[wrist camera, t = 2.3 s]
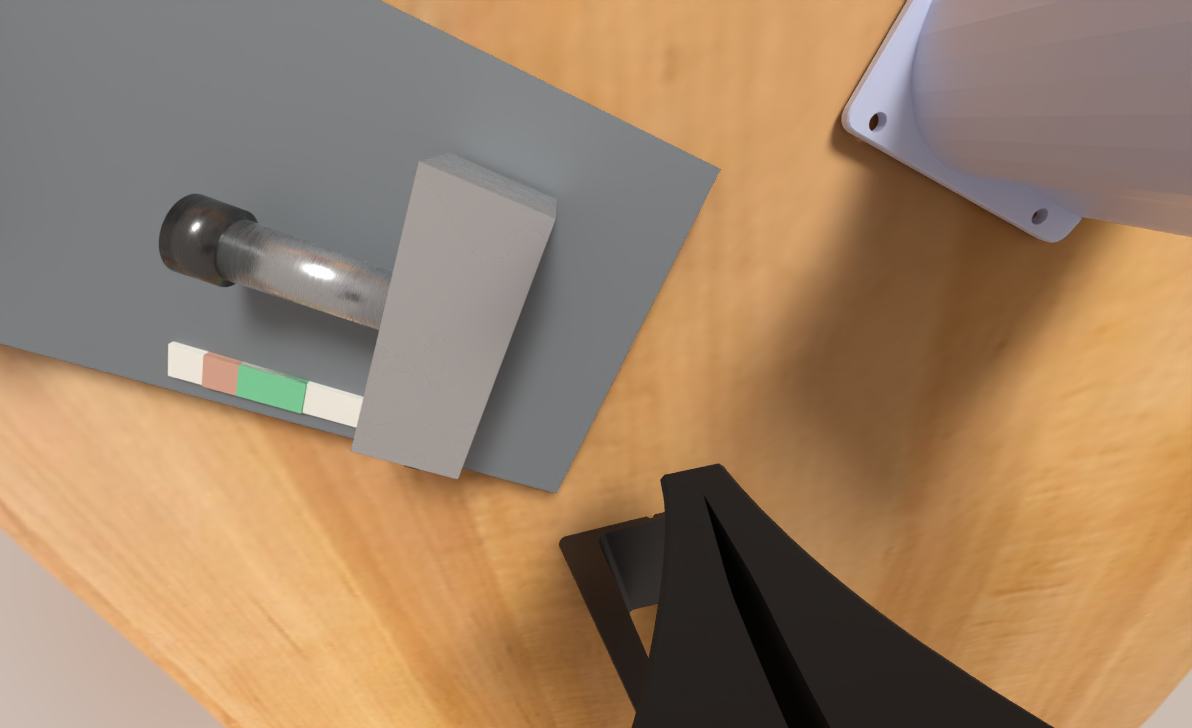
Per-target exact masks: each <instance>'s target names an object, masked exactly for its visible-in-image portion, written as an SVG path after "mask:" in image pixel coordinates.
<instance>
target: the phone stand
mask: <svg viewBox="0 0 1192 728" xmlns="http://www.w3.org/2000/svg"><path fill="white" fill-rule="evenodd" d="M664 539H665V512H663V513H659V514H655V516H654V518H651V519H650V518H648V517H642V518H638V519H634V520H630V521H626V522H622V523H618V524H614V525H610V526H606V527H602V528H598V529H594V530H590V531H586V532H582V533H578V534H574V535H570V536H566V537H564V538H562V539H561V541H560V543H559V546H560V548H561V551H562V553H563V555H564V557H565V559H566V562H567V564H568V566H569V568H570V570H571V572H572V575H573V577H574V579H575V581H576V583H577V586H578V588H579V590H580V592H581V594H582V597H583V599H584V601H585V603H586V605H587V608H588V610H589V612H590V614H591V616H592V618H593V621H594V623H595V625H596V627H597V629H598V631H599V634H600V636H601V638H602V640H603V642H604V644H605V647H606V649H607V651H608V653H609V655H610V657H611V660H612V662H613V664H614V666H615V668H616V670H617V673H618V675H619V677H620V679H621V681H622V683H623V686H624V688H625V690H626V692H627V694H628V696H629V699H630V701H631V703H632V705H633V707H634V709H635V712H636V710H637V706H638V702H639V698H640V694H641V690H642V685H643V681H644V677H645V672H646V668H647V663H648V656H647V654H646V652H645V649H644V647H643V645H642V642H641V640H640V638H639V635H638V633H637V631H636V628H635V626H634V624H633V621H632V619H631V617H630V614H629V613H630V611H631V610H633V609H637V608H641V607H645V606H650V605H654V604H658V603H659V595H660V586H661V578H662V569H663V558H664Z"/></svg>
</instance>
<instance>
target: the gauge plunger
mask: <svg viewBox="0 0 1192 728" xmlns="http://www.w3.org/2000/svg"><path fill="white" fill-rule="evenodd" d="M556 205H557V199H556V198H554V197H551V196H549V195H547V194H544V193H542V192H540V191H537V190H535V189H533V188H531V187H528V186H526V185H524V184H521V183H519V182H517V181H514V180H512V179H510V178H507V177H505V176H503V175H501V174H498V173H496V172H494V171H491V170H489V169H487V168H484V167H482V166H480V165H478V164H475V163H473V162H471V161H468V160H466V159H464V158H461V157H459V156H457V155H454V154H452V153H447V154H444V155H440V156H436V157H432V158H429V159H425V160H421V161H419V163H418V167H417V171H416V175H415V180H414V184H413V188H412V193H411V197H410V201H409V205H408V210H407V214H406V218H405V222H404V227H403V231H402V235H401V239H400V244H399V248H398V252H397V257H396V261H395V265H394V269H393V272H392V271H389V270H386V269H383V268H381V267H378V266H375V265H372V264H370V263H367V262H364V261H361V260H358V259H356V258H353V257H350V256H347V255H345V254H342V253H339V252H336V251H333V250H331V249H328V248H325V247H322V246H320V245H317V244H314V243H311V242H308V241H306V240H303V239H300V238H297V237H295V236H292V235H289V234H286V233H283V232H281V231H278V230H275V229H272V228H270V227H267V226H264V225H261V224H259V223H258V222H257V220H256V218H255V216H254V215H253V214H252V213H251V212H249V211H246V210H243V209H241V208H238V207H235V206H232V205H230V204H227V203H224V202H222V201H219V200H216V199H213V198H211V197H208V196H205V195H202V194H190V195H187V196H185V197H183V198H181V199H180V200H179V201H177V202H176V203H175V204H174V205H173V206H172V208H171V209H170V210H169V212H168V213H167V215H166V217H165V219H164V221H163V224H162V226H161V230H160V235H159V252H160V256H161V259H162V261H163V263H164V264H165V266H166V267H167V268H168V269H170V270H171V271H174V272H176V273H180V274H183V275H186V276H189V277H192V278H195V279H198V280H201V281H204V282H207V283H210V284H213V285H217V286H220V287H230V286H233V285H234V284H236V283H237V284H240V285H243V286H246V287H249V288H252V289H255V290H258V291H261V292H264V293H267V294H270V295H273V296H276V297H279V298H282V299H285V300H288V301H291V302H294V303H297V304H301V305H304V306H307V307H310V308H313V309H316V310H319V311H322V312H325V313H328V314H331V315H334V316H337V317H340V318H343V319H346V320H349V321H352V322H355V323H358V324H361V325H365V326H368V327H371V328H374V329H377V330H379V333H378V338H377V342H376V346H375V350H374V355H373V359H372V363H371V367H370V372H369V376H368V380H367V384H366V389H365V393H364V397H363V402H362V406H361V410H360V414H359V419H358V423H357V427H356V431H355V436H354V440H353V444H352V448H351V451H352V452H355V453H359V454H363V455H367V456H371V457H374V458H378V459H382V460H386V461H390V462H393V463H397V464H401V465H404V466H406V467H409V468H413V469H417V470H419V469H420V470H424V471H428V472H431V473H435V474H439V475H443V476H447V477H450V478H454V479H458V478H459V475H460V472H461V470H462V467H463V464H464V462H465V459H466V456H467V454H468V451H469V448H470V446H471V443H472V440H473V438H474V435H475V432H476V430H477V427H478V424H479V422H480V419H481V417H482V414H483V411H484V409H485V406H486V403H487V401H488V398H489V395H490V393H491V390H492V387H493V385H494V382H495V379H496V377H497V374H498V371H499V369H500V366H501V363H502V361H503V358H504V355H505V353H506V350H507V347H508V345H509V342H510V339H511V337H512V334H513V331H514V329H515V326H516V323H517V321H518V318H519V315H520V313H521V310H522V307H523V305H524V302H525V299H526V297H527V294H528V291H529V289H530V286H531V283H532V281H533V278H534V275H535V273H536V270H537V267H538V265H539V262H540V259H541V257H542V254H543V251H544V249H545V246H546V243H547V241H548V238H549V235H550V233H551V230H552V227H553V225H554V222H555V219H556Z"/></svg>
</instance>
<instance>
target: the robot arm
mask: <svg viewBox="0 0 1192 728" xmlns="http://www.w3.org/2000/svg"><path fill="white" fill-rule="evenodd" d="M874 114H877V115H878V120H879V121H878V124H877V126H876V128H875V129H874V130H872V131H871V130H870V129H869V122H870V119H871V117H872V116H873V115H874ZM841 122H842V125H843V128H844V129H845V130H846V131H847V132H848V133H850V134H852V135H854V136H855V137H857V138H859V139H861V140H863V141H864V142H866V143H868V144H870V145H871V146H873V147H875V148H877V149H879V150H880V151H882V152H884V153H886V154H887V155H889V156H891V157H893V158H895V159H896V160H898V161H900V162H902V163H903V164H905V165H907V166H909V167H911V168H912V169H914V170H916V171H918V172H919V173H921V174H923V175H925V176H927V177H928V178H930V179H932V180H934V181H935V182H937V183H939V184H941V185H943V186H944V187H946V188H948V189H950V190H951V191H953V192H955V193H957V194H959V195H960V196H962V197H964V198H966V199H967V200H969V201H971V202H973V203H974V204H976V205H978V206H980V207H982V208H983V209H985V210H987V211H989V212H990V213H992V214H994V215H996V216H998V217H999V218H1001V219H1003V220H1005V221H1006V222H1008V223H1010V224H1012V225H1014V226H1015V227H1017V228H1019V229H1021V230H1022V231H1024V232H1026V233H1028V234H1030V235H1031V236H1033V237H1035V238H1037V239H1038V240H1042V241H1046V242H1050V243H1054V242H1058V241H1060V240H1062V239H1063V238H1065V237H1066V236H1067V235H1068V234H1069V233H1070V232H1071V231H1072V230H1073V228H1074V227H1075V226H1076V225H1077V224H1078V223H1079V222H1080V220H1081V219H1082V218H1083V217H1084V218H1090V219H1095V220H1101V221H1106V222H1112V223H1117V224H1123V225H1128V226H1134V227H1139V228H1145V229H1150V230H1156V231H1161V232H1167V233H1172V234H1178V235H1183V236H1189V237H1192V0H907V2H906V3H905V5H904V7H903V9H902V10H901V12H900V14H899V15H898V17H897V19H896V21H895V22H894V24H893V26H892V27H891V29H890V31H889V33H888V34H887V36H886V38H885V39H884V41H883V43H882V44H881V46H880V48H879V50H878V51H877V53H876V55H875V56H874V58H873V60H872V62H871V63H870V65H869V67H868V68H867V70H866V72H865V74H864V75H863V77H862V79H861V80H860V82H859V84H858V86H857V87H856V89H855V91H854V92H853V94H852V96H851V97H850V99H849V101H848V103H847V104H846V106H845V108H844V110H843V113H842V120H841ZM1036 211H1037V214H1036V216H1035V218H1033V219H1032V217H1033V215H1034V213H1035V212H1036ZM660 481H661V486H662V492H663V497H664V506H665V539H664V558H663V569H662V578H661V586H660V595H659V603H658V609H657V616H656V622H655V628H654V633H653V638H652V644H651V649H650V654H649V659H648V663H647V668H646V672H645V677H644V681H643V685H642V690H641V694H640V698H639V702H638V706H637V710H636V714H635V718H634V722H633V725H632V728H1054V727H1052V726H1051V725H1049V724H1047V723H1046V722H1044V721H1042V720H1041V719H1039V718H1037V717H1036V716H1034V715H1033V714H1031V713H1029V712H1028V711H1026V710H1025V709H1023V708H1021V707H1020V706H1018V705H1016V704H1015V703H1013V702H1012V701H1010V700H1008V699H1007V698H1005V697H1004V696H1002V695H1000V694H999V693H997V692H995V691H994V690H992V689H991V688H989V687H988V686H986V685H985V684H983V683H982V682H980V681H979V680H977V679H976V678H974V677H973V676H971V675H970V674H968V673H967V672H965V671H964V670H962V669H961V668H959V667H958V666H956V665H955V664H953V663H952V662H950V661H949V660H947V659H946V658H944V657H943V656H941V655H940V654H938V653H937V652H935V651H934V650H932V649H931V648H929V647H928V646H926V645H925V644H923V643H922V642H920V641H919V640H917V639H916V638H914V637H913V636H912V635H910V634H909V633H908V632H906V631H905V630H903V629H902V628H901V627H899V626H898V625H897V624H895V623H894V622H892V621H891V620H890V619H888V618H887V617H886V616H884V615H883V614H881V613H880V612H879V611H878V610H876V609H875V608H874V607H872V606H871V605H870V604H868V603H867V602H866V601H865V600H863V599H862V598H861V597H859V596H858V595H857V594H856V593H854V592H853V591H852V590H851V589H849V588H848V587H847V586H846V585H844V584H843V583H842V582H841V581H839V580H838V579H837V578H836V577H835V576H833V575H832V574H831V573H830V572H829V571H827V570H826V569H825V568H824V567H823V566H822V565H821V564H819V563H818V562H817V561H816V560H815V559H814V558H813V557H811V556H810V555H809V554H808V553H807V552H806V551H805V550H803V549H802V548H801V547H800V546H799V545H798V544H797V543H796V542H795V541H794V540H793V539H792V538H790V537H789V536H788V535H787V534H786V533H785V532H784V531H783V530H782V529H781V528H780V527H779V526H778V525H777V524H776V523H775V522H774V521H773V520H772V519H771V518H770V517H769V516H768V515H767V514H766V513H765V512H764V511H763V510H762V509H761V508H760V507H759V506H758V505H757V504H756V503H755V502H754V501H753V500H752V499H751V498H750V497H749V495H748V494H747V493H746V492H745V491H744V490H743V489H742V488H741V487H740V486H739V484H738V483H737V482H736V481H735V480H734V479H733V477H732V476H731V475H730V474H729V473H728V471H727V470H726V469H725V468H724V467H723V466H722V465H720V464H714V465H709V466H705V467H700V468H695V469H690V470H686V471H681V472H676V473H671V474H667V475H664V476H663V477H662V478H661V480H660Z"/></svg>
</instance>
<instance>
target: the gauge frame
mask: <svg viewBox="0 0 1192 728" xmlns="http://www.w3.org/2000/svg"><path fill="white" fill-rule="evenodd" d="M447 153H452V154H454V155H457V156H459V157H461V158H464V159H466V160H468V161H471V162H473V163H475V164H478V165H480V166H482V167H484V168H487V169H489V170H491V171H494V172H496V173H498V174H501V175H503V176H505V177H507V178H510V179H512V180H514V181H517V182H519V183H521V184H524V185H526V186H528V187H531V188H533V189H535V190H537V191H540V192H542V193H544V194H547V195H549V196H551V197H554V198H556V199H557V205H556V219H555V222H554V225H553V227H552V230H551V233H550V235H549V238H548V241H547V243H546V246H545V249H544V251H543V254H542V257H541V259H540V262H539V265H538V267H537V270H536V273H535V275H534V278H533V281H532V283H531V286H530V289H529V291H528V294H527V297H526V299H525V302H524V305H523V307H522V310H521V313H520V315H519V318H518V321H517V323H516V326H515V329H514V331H513V334H512V337H511V339H510V342H509V345H508V347H507V350H506V353H505V355H504V358H503V361H502V363H501V366H500V369H499V371H498V374H497V377H496V379H495V382H494V385H493V387H492V390H491V393H490V395H489V398H488V401H487V403H486V406H485V409H484V411H483V414H482V417H481V419H480V422H479V424H478V427H477V430H476V432H475V435H474V438H473V440H472V443H471V446H470V448H469V451H468V454H467V456H466V459H465V462H464V464H463V467H462V468H464V469H467V470H471V471H475V472H478V473H482V474H486V475H490V476H493V477H497V478H501V479H504V480H508V481H512V482H516V483H519V484H523V485H527V486H530V487H534V488H538V489H542V490H545V491H549V492H553V493H557V491H558V489H559V487H560V486H561V484H562V482H563V480H564V478H565V476H566V474H567V472H568V470H569V468H570V466H571V464H572V462H573V460H574V458H575V456H576V454H577V452H578V450H579V448H580V446H581V444H582V442H583V440H584V438H585V436H586V434H587V432H588V430H589V428H590V426H591V424H592V422H593V420H594V418H595V416H596V414H597V412H598V410H599V408H600V407H601V405H602V403H603V401H604V399H605V397H606V395H607V393H608V391H609V389H610V387H611V385H612V383H613V381H614V379H615V377H616V375H617V373H618V371H619V369H620V367H621V365H622V363H623V361H624V359H625V357H626V355H627V353H628V351H629V349H630V347H631V345H632V343H633V341H634V339H635V337H636V335H637V333H638V331H639V330H640V328H641V326H642V324H643V322H644V320H645V318H646V316H647V314H648V312H649V310H650V308H651V306H652V304H653V302H654V300H655V298H656V296H657V294H658V292H659V290H660V288H661V286H662V284H663V282H664V280H665V278H666V276H667V274H668V272H669V270H670V268H671V266H672V264H673V262H674V260H675V258H676V256H677V254H678V252H679V251H680V249H681V247H682V245H683V243H684V241H685V239H686V237H687V235H688V233H689V231H690V229H691V227H692V225H693V223H694V221H695V219H696V217H697V215H698V213H699V211H700V209H701V207H702V205H703V203H704V201H705V199H706V197H707V195H708V193H709V191H710V189H711V187H712V185H713V183H714V181H715V179H716V177H717V175H718V173H719V172H720V170H721V169H719V168H717V167H715V166H713V165H711V164H709V163H707V162H705V161H703V160H701V159H699V158H697V157H695V156H693V155H691V154H689V153H687V152H685V151H683V150H681V149H679V148H677V147H675V146H673V145H671V144H669V143H667V142H665V141H663V140H661V139H659V138H657V137H655V136H653V135H651V134H649V133H647V132H645V131H643V130H641V129H639V128H637V127H635V126H633V125H631V124H629V123H627V122H625V121H623V120H621V119H619V118H617V117H615V116H612V115H610V114H608V113H606V112H604V111H602V110H600V109H598V108H596V107H594V106H592V105H590V104H588V103H586V102H584V101H582V100H580V99H578V98H576V97H574V96H572V95H570V94H568V93H566V92H564V91H562V90H560V89H558V88H556V87H554V86H552V85H550V84H548V83H546V82H544V81H542V80H540V79H538V78H536V77H534V76H532V75H530V74H528V73H526V72H524V71H522V70H520V69H518V68H516V67H514V66H512V65H510V64H508V63H506V62H504V61H502V60H500V59H498V58H496V57H494V56H492V55H490V54H488V53H486V52H484V51H482V50H479V49H477V48H475V47H473V46H471V45H469V44H467V43H465V42H463V41H461V40H459V39H457V38H455V37H453V36H451V35H449V34H447V33H445V32H443V31H441V30H439V29H437V28H435V27H433V26H431V25H429V24H427V23H425V22H423V21H421V20H419V19H417V18H415V17H413V16H411V15H409V14H407V13H405V12H403V11H401V10H399V9H397V8H395V7H393V6H391V5H389V4H387V3H385V2H383V1H381V0H0V344H3V345H7V346H11V347H15V348H18V349H22V350H26V351H29V352H33V353H37V354H40V355H44V356H48V357H52V358H55V359H59V360H63V361H66V362H70V363H74V364H78V365H81V366H85V367H89V368H92V369H96V370H100V371H104V372H107V373H111V374H115V375H118V376H122V377H126V378H130V379H133V380H137V381H141V382H144V383H148V384H152V385H156V386H159V387H163V388H167V389H170V390H174V391H178V392H182V393H185V394H189V395H193V396H196V397H200V398H204V399H207V400H211V401H215V402H219V403H222V404H226V405H230V406H233V407H237V408H241V409H245V410H248V411H252V412H256V413H259V414H263V415H267V416H271V417H274V418H278V419H282V420H285V421H289V422H293V423H297V424H300V425H304V426H308V427H311V428H315V429H319V430H323V431H326V432H330V433H334V434H337V435H341V436H345V437H349V438H352V439H354V436H355V431H356V427H357V423H358V419H359V414H360V410H361V406H362V402H363V397H364V393H365V389H366V384H367V380H368V376H369V372H370V367H371V363H372V359H373V355H374V350H375V346H376V342H377V338H378V333H379V330H377V329H374V328H371V327H368V326H365V325H361V324H358V323H355V322H352V321H349V320H346V319H343V318H340V317H337V316H334V315H331V314H328V313H325V312H322V311H319V310H316V309H313V308H310V307H307V306H304V305H301V304H297V303H294V302H291V301H288V300H285V299H282V298H279V297H276V296H273V295H270V294H267V293H264V292H261V291H258V290H255V289H252V288H249V287H246V286H243V285H240V284H237V283H236V284H234V285H233V286H230V287H220V286H217V285H213V284H210V283H207V282H204V281H201V280H198V279H195V278H192V277H189V276H186V275H183V274H180V273H176V272H174V271H171V270H170V269H168V268H167V267H166V266H165V264H164V263H163V261H162V259H161V256H160V252H159V235H160V230H161V226H162V224H163V221H164V219H165V217H166V215H167V213H168V212H169V210H170V209H171V208H172V206H173V205H174V204H175V203H176V202H177V201H179V200H180V199H181V198H183V197H185V196H187V195H190V194H202V195H205V196H208V197H211V198H213V199H216V200H219V201H222V202H224V203H227V204H230V205H232V206H235V207H238V208H241V209H243V210H246V211H249V212H251V213H252V214H253V215H254V216H255V218H256V220H257V222H258V223H259V224H261V225H264V226H267V227H270V228H272V229H275V230H278V231H281V232H283V233H286V234H289V235H292V236H295V237H297V238H300V239H303V240H306V241H308V242H311V243H314V244H317V245H320V246H322V247H325V248H328V249H331V250H333V251H336V252H339V253H342V254H345V255H347V256H350V257H353V258H356V259H358V260H361V261H364V262H367V263H370V264H372V265H375V266H378V267H381V268H383V269H386V270H389V271H392V272H393V269H394V265H395V261H396V257H397V252H398V248H399V244H400V239H401V235H402V231H403V227H404V222H405V218H406V214H407V210H408V205H409V201H410V197H411V193H412V188H413V184H414V180H415V175H416V171H417V167H418V163H419V161H421V160H425V159H429V158H432V157H436V156H440V155H444V154H447Z"/></svg>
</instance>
